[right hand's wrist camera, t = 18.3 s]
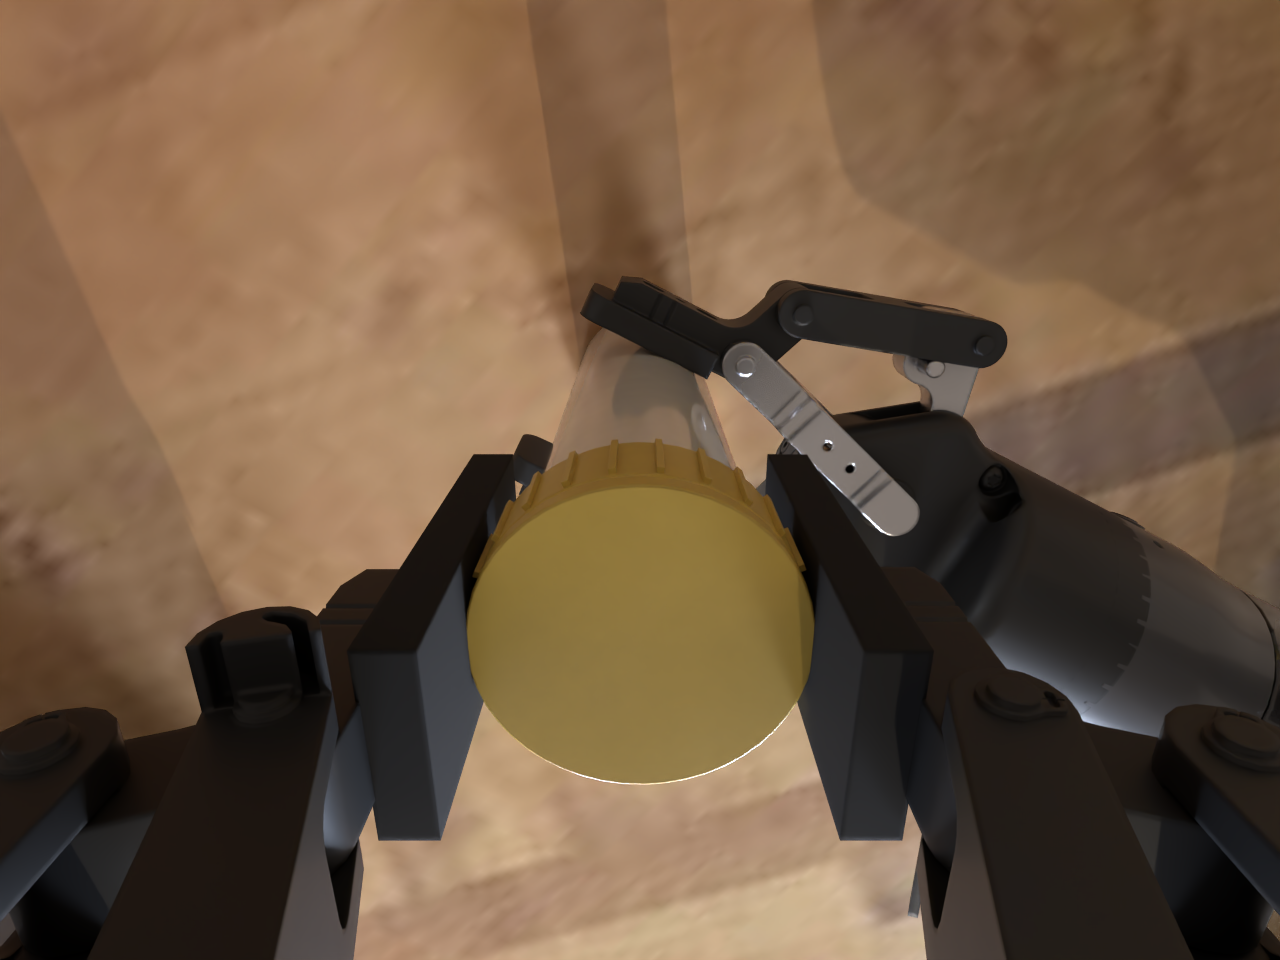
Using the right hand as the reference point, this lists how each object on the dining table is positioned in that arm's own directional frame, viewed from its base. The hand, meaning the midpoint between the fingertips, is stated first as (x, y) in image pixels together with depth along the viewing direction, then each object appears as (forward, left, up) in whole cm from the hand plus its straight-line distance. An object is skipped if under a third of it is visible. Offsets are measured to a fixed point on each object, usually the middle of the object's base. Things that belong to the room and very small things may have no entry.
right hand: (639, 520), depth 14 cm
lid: (0, 0, +4) cm, 4 cm away
